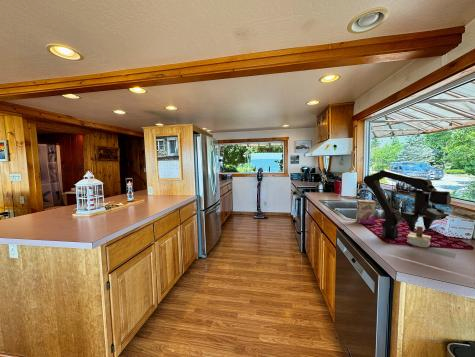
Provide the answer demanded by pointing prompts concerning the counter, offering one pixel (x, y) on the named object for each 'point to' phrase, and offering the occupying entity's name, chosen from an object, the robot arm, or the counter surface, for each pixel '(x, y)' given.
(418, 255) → the counter surface
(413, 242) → the bowl
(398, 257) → the counter surface
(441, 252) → the mat
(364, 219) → the candy bar box
